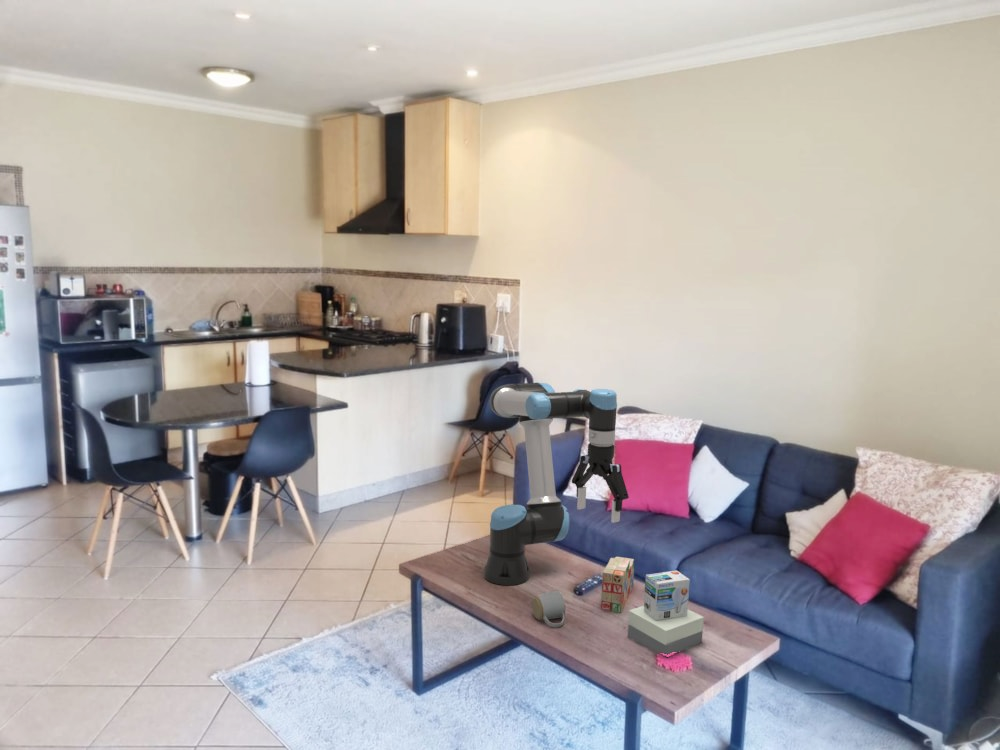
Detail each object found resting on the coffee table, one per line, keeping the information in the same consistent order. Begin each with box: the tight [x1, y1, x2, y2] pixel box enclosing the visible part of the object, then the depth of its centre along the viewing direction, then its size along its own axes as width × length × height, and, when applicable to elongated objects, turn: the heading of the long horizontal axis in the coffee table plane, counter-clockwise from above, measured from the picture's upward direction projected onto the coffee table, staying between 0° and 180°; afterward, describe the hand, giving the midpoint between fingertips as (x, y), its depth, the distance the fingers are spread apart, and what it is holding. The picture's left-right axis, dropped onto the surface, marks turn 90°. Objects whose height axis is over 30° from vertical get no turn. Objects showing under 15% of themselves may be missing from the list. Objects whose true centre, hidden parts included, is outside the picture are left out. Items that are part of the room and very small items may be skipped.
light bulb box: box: [643, 570, 691, 620], centre depth 208 cm, size 11×7×11 cm, turn 110°
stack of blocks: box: [600, 556, 635, 614], centre depth 235 cm, size 21×6×12 cm, turn 160°
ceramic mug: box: [531, 589, 567, 629], centre depth 219 cm, size 11×8×8 cm
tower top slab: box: [627, 605, 705, 645], centre depth 209 cm, size 14×15×4 cm
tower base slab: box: [627, 624, 704, 655], centre depth 209 cm, size 14×15×4 cm
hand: (597, 515), depth 217 cm, fingers open, 13 cm apart
